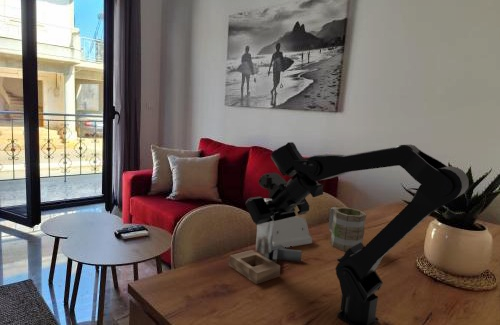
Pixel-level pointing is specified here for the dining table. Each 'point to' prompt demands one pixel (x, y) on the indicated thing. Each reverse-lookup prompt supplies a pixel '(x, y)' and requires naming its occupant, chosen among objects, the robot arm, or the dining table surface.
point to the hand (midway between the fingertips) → (262, 221)
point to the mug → (346, 227)
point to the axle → (265, 235)
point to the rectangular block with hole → (258, 273)
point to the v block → (283, 254)
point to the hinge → (291, 232)
